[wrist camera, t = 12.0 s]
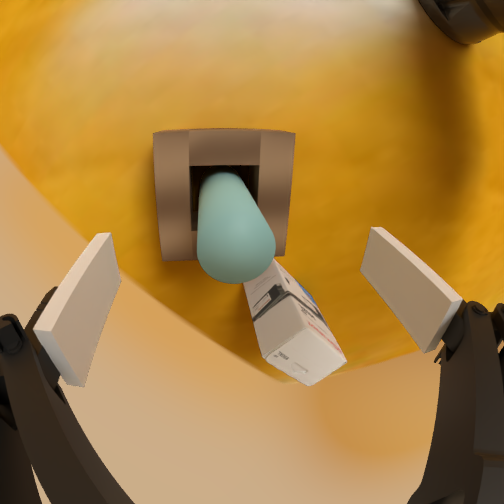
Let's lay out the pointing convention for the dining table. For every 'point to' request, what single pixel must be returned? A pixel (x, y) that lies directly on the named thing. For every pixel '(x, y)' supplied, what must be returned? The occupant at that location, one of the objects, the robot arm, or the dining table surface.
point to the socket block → (219, 153)
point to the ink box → (291, 327)
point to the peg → (231, 229)
